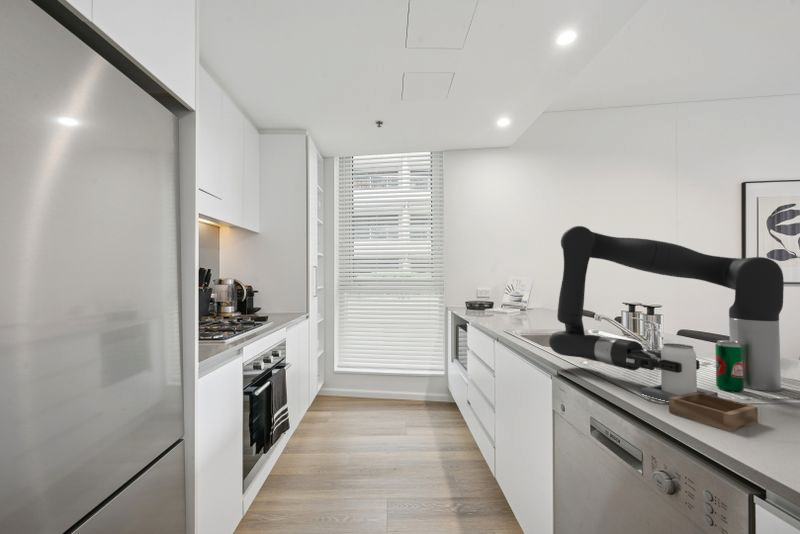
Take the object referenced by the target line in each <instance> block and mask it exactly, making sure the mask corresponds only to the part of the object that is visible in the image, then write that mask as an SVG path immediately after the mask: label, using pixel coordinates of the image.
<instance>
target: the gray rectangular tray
mask: <svg viewBox="0 0 800 534" xmlns="http://www.w3.org/2000/svg"><path fill="white" fill-rule="evenodd" d="M640 392H641V393H640V395H641V394H644V395H647V396H650V397H654V398H657V399H661V400H665V401H669V398H670V397H675V396H679V395H676V394H673V393H669V392H665V391H662V387H661V384H657V385H652V386H648V387H647V386H646V387H641V389H640ZM697 392H700V393H704V394H708V395H712V396H716V397H719V395H718V392H716V391H712V390H708V389H703V388H700V387H697Z"/></svg>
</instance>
